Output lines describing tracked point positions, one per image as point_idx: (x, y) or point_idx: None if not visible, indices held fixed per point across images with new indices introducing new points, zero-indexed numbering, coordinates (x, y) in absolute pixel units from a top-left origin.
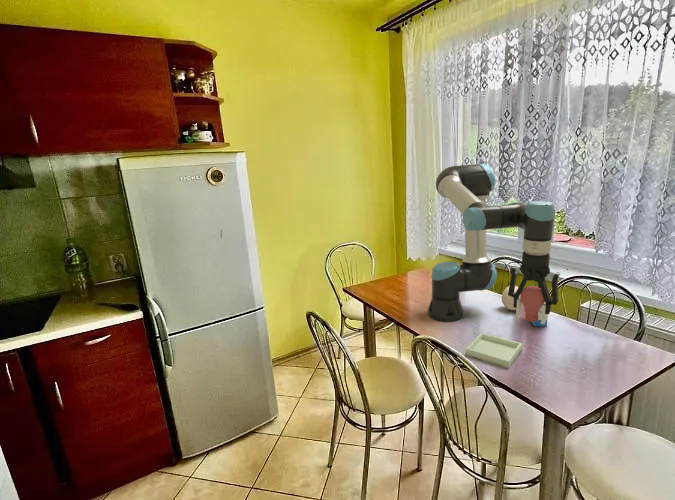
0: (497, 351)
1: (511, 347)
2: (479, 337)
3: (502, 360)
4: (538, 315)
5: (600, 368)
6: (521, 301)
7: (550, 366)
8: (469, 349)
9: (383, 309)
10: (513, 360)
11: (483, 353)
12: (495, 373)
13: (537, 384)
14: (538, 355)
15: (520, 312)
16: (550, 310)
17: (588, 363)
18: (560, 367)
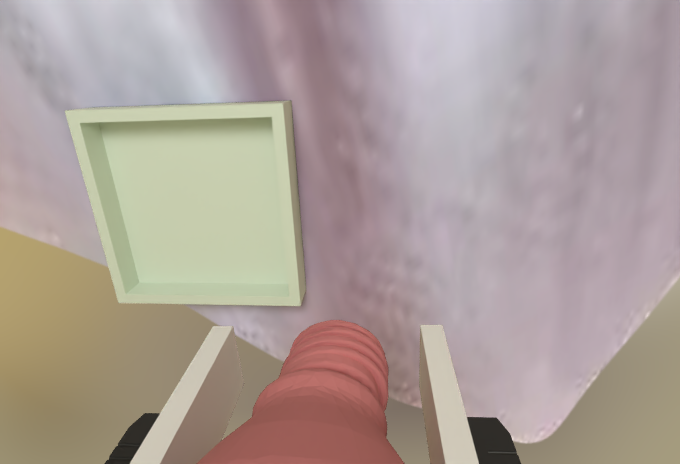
0: (215, 203)
1: (246, 127)
2: (92, 171)
3: (274, 304)
4: (387, 393)
5: (663, 60)
6: (167, 454)
7: (442, 183)
8: (131, 300)
9: None
10: (300, 236)
11: (191, 300)
12: (281, 341)
13: None
14: (374, 111)
15: (222, 357)
16: (514, 446)
17: (607, 41)
18: (483, 166)
